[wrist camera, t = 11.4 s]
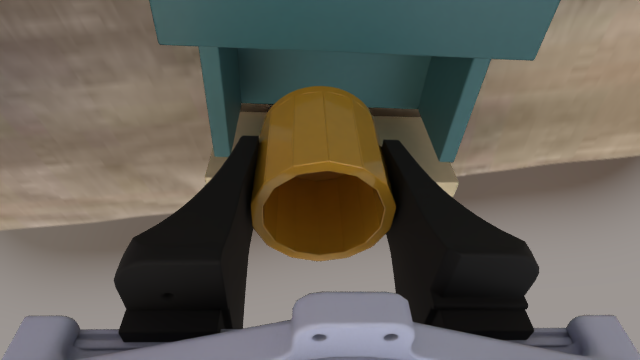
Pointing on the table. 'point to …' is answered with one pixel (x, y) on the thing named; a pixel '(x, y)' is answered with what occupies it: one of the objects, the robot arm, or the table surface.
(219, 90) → the drawer
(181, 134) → the table surface
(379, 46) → the cabinet
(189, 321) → the robot arm
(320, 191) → the cup
